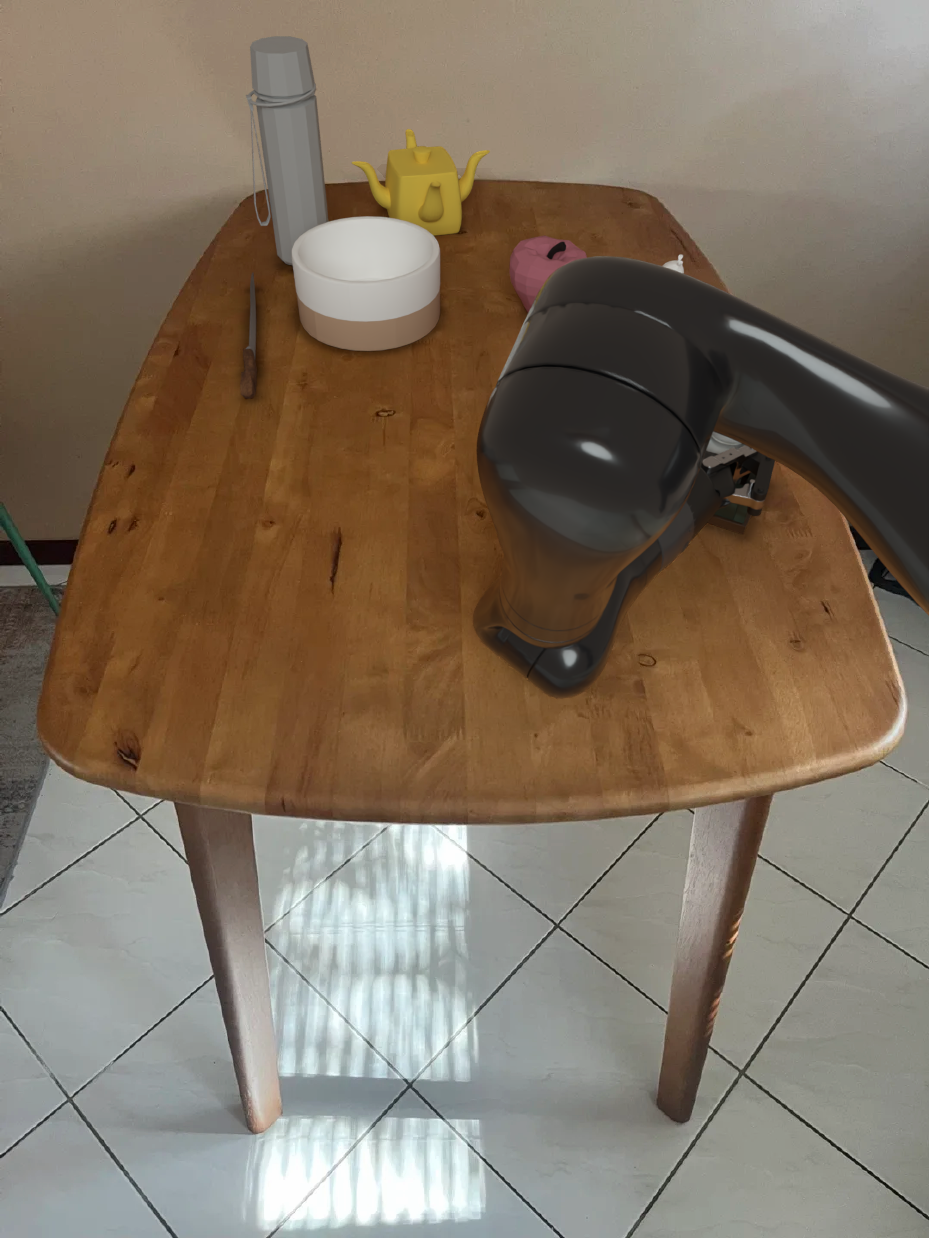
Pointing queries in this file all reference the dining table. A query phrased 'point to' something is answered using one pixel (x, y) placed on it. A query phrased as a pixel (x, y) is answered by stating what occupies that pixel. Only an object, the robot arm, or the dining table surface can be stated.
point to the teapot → (423, 186)
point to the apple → (539, 264)
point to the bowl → (367, 282)
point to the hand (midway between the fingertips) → (740, 423)
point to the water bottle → (288, 138)
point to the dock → (734, 512)
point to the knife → (250, 352)
